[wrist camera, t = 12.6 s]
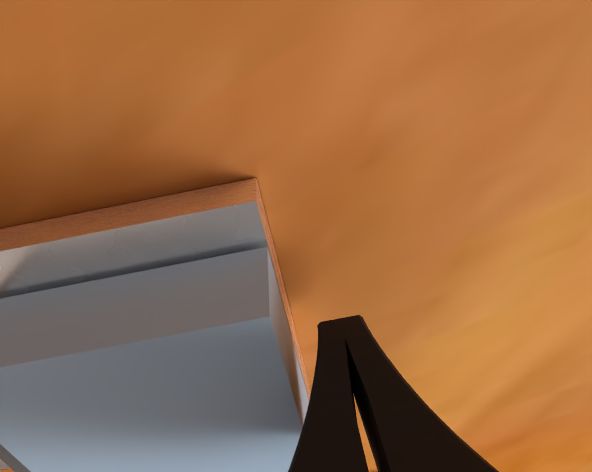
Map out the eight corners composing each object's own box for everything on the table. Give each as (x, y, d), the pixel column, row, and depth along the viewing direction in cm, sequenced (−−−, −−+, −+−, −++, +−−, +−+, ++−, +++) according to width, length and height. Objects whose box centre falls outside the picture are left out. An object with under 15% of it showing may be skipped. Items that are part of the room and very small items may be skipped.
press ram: (307, 397, 15) (316, 473, 13) (97, 435, 15) (67, 517, 13) (267, 246, 11) (269, 316, 9) (-15, 301, 11) (-87, 383, 9)
